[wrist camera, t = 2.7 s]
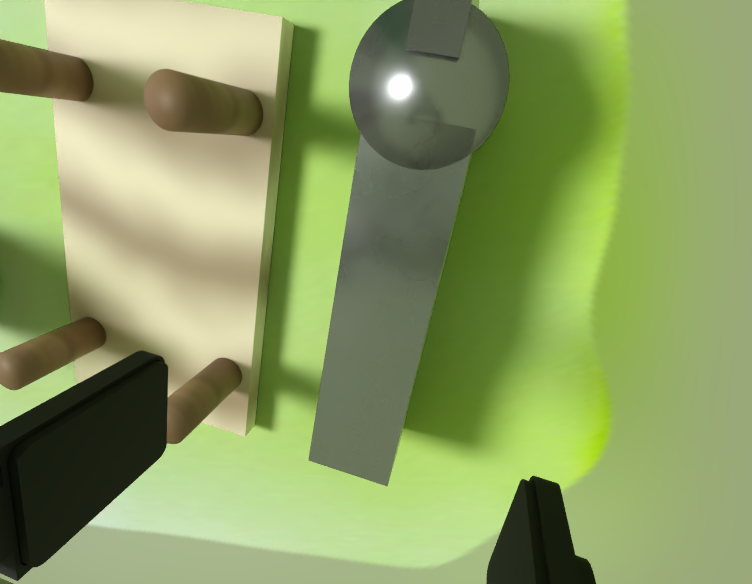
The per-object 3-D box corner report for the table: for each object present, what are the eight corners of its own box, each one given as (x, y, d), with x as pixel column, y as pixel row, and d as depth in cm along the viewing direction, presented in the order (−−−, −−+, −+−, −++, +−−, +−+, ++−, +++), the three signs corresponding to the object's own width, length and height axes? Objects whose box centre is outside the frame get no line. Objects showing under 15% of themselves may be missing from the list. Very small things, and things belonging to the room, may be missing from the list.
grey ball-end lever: (393, 1, 18) (365, -45, 13) (524, 21, 17) (539, -23, 13) (326, 404, 25) (294, 457, 21) (415, 431, 24) (401, 492, 20)
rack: (66, -12, 21) (-93, -75, 15) (294, 24, 19) (212, -30, 13) (91, 372, 28) (-7, 428, 23) (254, 424, 27) (193, 500, 21)
